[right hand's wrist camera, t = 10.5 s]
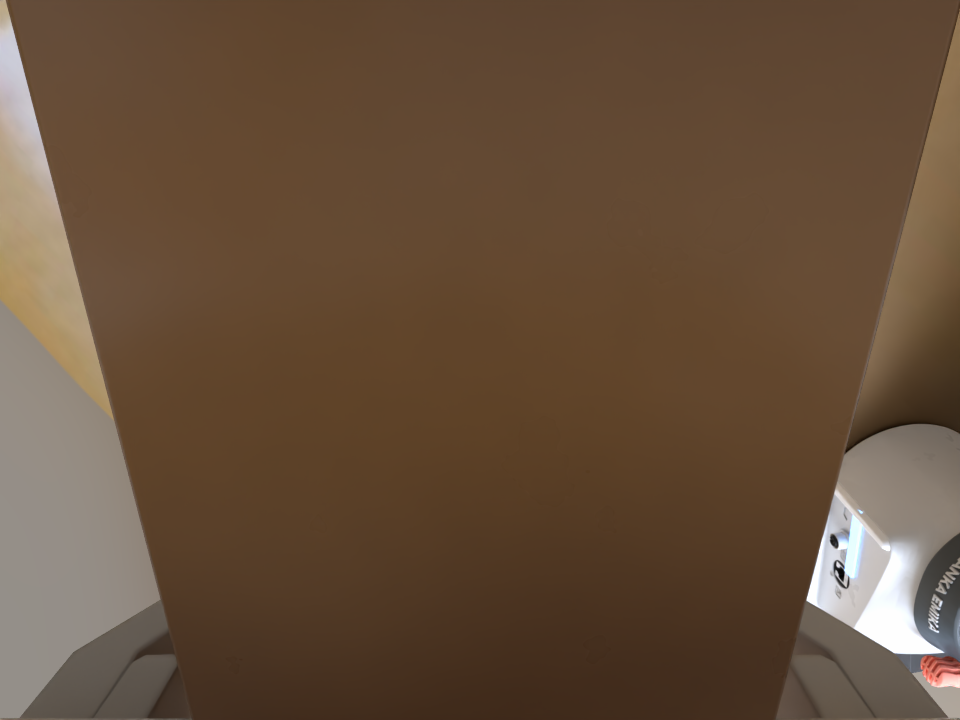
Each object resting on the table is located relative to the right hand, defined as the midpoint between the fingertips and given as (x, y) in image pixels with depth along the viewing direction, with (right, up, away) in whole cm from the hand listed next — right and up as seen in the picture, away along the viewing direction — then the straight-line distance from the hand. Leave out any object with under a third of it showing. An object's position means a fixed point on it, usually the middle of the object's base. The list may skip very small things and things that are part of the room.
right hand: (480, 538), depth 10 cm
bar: (0, +9, 0) cm, 9 cm away
